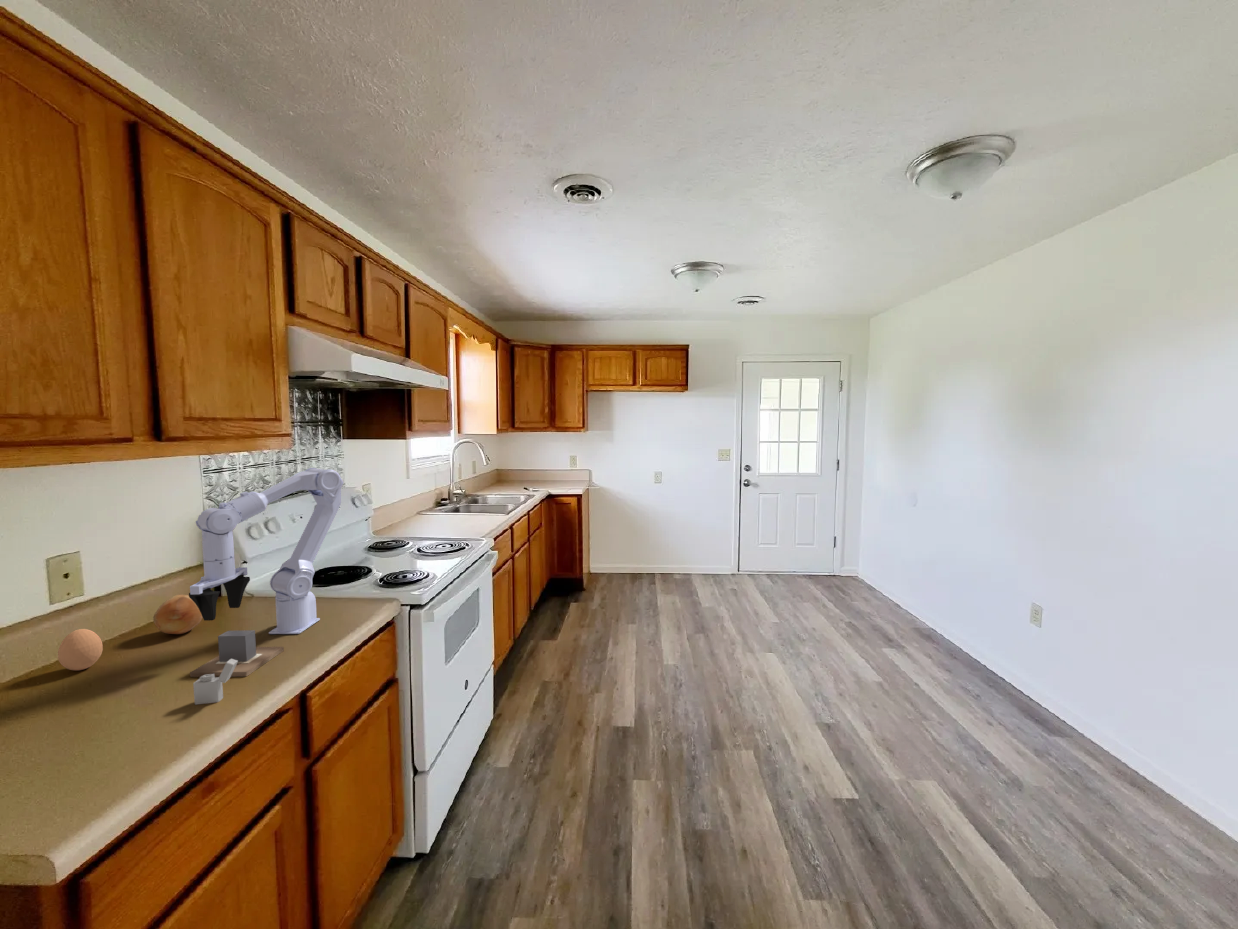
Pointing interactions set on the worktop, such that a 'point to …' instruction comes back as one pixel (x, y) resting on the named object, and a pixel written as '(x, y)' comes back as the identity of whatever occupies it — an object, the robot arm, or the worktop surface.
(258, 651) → the board
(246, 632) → the block
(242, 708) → the worktop surface
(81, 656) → the egg
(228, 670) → the lighter
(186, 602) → the onion
